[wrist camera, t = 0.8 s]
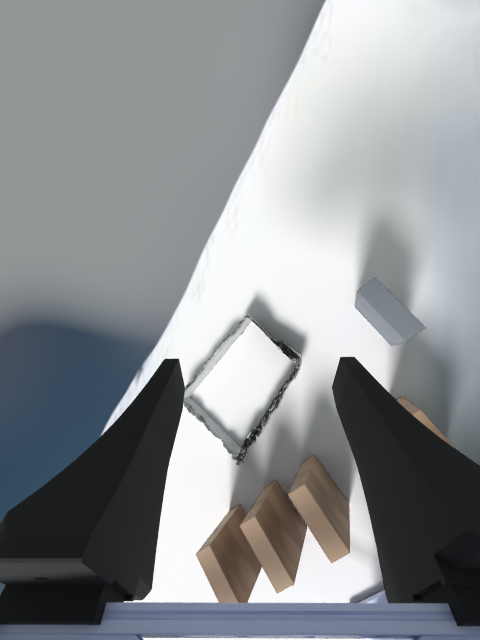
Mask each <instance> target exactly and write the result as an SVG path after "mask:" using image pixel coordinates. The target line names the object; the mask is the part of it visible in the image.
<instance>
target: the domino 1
mask: <svg viewBox="0 0 480 640" xmlns="http://www.w3.org/2000/svg"><path fill="white" fill-rule="evenodd" d="M246 516H247V515H246V514H245V512H244V510H243V508H242V506H241V505H240V504H239V505H238V506H236V507H235V508H233V509H232V510H230V511H229V512H228V513H227V515H226V516H225V517H224V518H223V520H222V521H221V522H220V524H219V525H218V526H217V528H216V529H215V530H214V531H213V533H212V534H211V535H210V537H209V538H208V539H207V541H206V542H205V543H204V544H203V546H202V547H201V548H200V550H199V551H198V552H197V553H196V556H197V558H198V560H199V562H200V564H201V566H202V568H203V570H204V572H205V574H206V576H207V578H208V580H209V583H210V585H211V587H212V589H213V591H214V593H215V595H216V597H217V599H218V601H219V603H247V602H248V599H249V597H250V594H251V592H252V590H253V587H254V585H255V582H256V580H257V577H258V575H259V572H260V570H261V568H262V565H261V563H260V562H259V560H258V558H257V556H256V554H255V553H254V551H253V549H252V547H251V545H250V544H249V542H248V540H247V538H246V536H245V534H244V533H243V531H242V529H241V527H240V525H241V523H242V522H243V520H244V519H245V517H246Z"/></svg>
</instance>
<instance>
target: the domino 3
mask: <svg viewBox="0 0 480 640" xmlns="http://www.w3.org/2000/svg"><path fill="white" fill-rule="evenodd" d="M288 496H289V497H290V499H291V500H292V502H293V504H294V505H295V507H296V508H297V510H298V512H299V513H300V515H301V516H302V518H303V519H304V521H305V523H306V524H307V526H308V527H309V529H310V530H311V532H312V534H313V535H314V537H315V538H316V540H317V541H318V543H319V545H320V546H321V548H322V549H323V551H324V553H325V554H326V556H327V557H328V559H329V560H330V562H331V563H333V562H335V561H336V560H338V559H340V558H342V557H344V556H345V555H347V554H349V553H350V521H349V502H348V501H347V500H346V498H345V497H344V495H343V494H342V492H341V491H340V490H339V488H338V487H337V485H336V484H335V483H334V481H333V480H332V478H331V477H330V475H329V474H328V473H327V471H326V470H325V468H324V467H323V465H322V464H321V463H320V461H319V460H318V458H317V457H316V455H315V454H314V455H313V456H311V457H310V458H308V459H307V460H305V461H304V462H302V464H301V466H300V468H299V470H298V473H297V475H296V477H295V480H294V482H293V484H292V487H291V489H290V491H289V494H288Z"/></svg>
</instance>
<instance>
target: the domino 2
mask: <svg viewBox="0 0 480 640" xmlns="http://www.w3.org/2000/svg"><path fill="white" fill-rule="evenodd" d="M240 527H241V529H242V531H243V533H244V534H245V536H246V538H247V540H248V542H249V544H250V545H251V547H252V549H253V551H254V553H255V554H256V556H257V558H258V560H259V562H260V563H261V565H262V567H263V569H264V571H265V572H266V574H267V576H268V578H269V580H270V582H271V583H272V585H273V587H274V589H275V591H276V592H277V593H279V592H281V591H283V590H284V589H286V588H288V587H290V586H292V585H293V584H294V582H295V578H296V573H297V569H298V565H299V560H300V556H301V552H302V548H303V543H304V539H305V535H306V530H307V528H306V527H305V525H304V524H303V522H302V520H301V519H300V517H299V516H298V514H297V513H296V511H295V509H294V508H293V506H292V505H291V503H290V501H289V500H288V498H287V497H286V495H285V494H284V492H283V490H282V489H281V487H280V486H279V484H278V482H277V481H276V480H275V481H274V482H272V483H271V484H269V485H268V486H266V487H265V488H264V489H263V490H262V492H261V494H260V495H259V497H258V498H257V500H256V501H255V503H254V505H253V506H252V508H251V509H250V511H249V512H248V514H247V516H246V517H245V519H244V520H243V522H242V523H241V525H240Z"/></svg>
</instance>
